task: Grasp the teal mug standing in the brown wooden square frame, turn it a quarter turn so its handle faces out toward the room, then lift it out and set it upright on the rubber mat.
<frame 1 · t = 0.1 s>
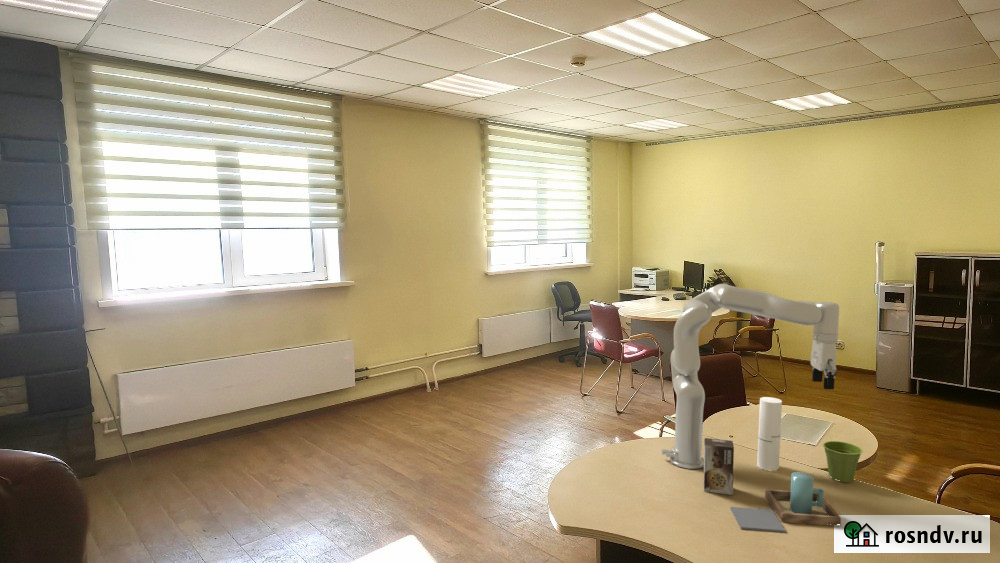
hand: (822, 385, 198), 31 cm above the table, tool pointing down, fingers open, 9 cm apart
rubber mat: (756, 520, 166), on the table
teal mug: (806, 493, 171), in the brown wooden square frame
cylindrical container: (767, 467, 203), on the table
plant pot: (840, 479, 194), on the table
brown wooden square frame: (800, 510, 172), on the table
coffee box: (717, 489, 186), on the table
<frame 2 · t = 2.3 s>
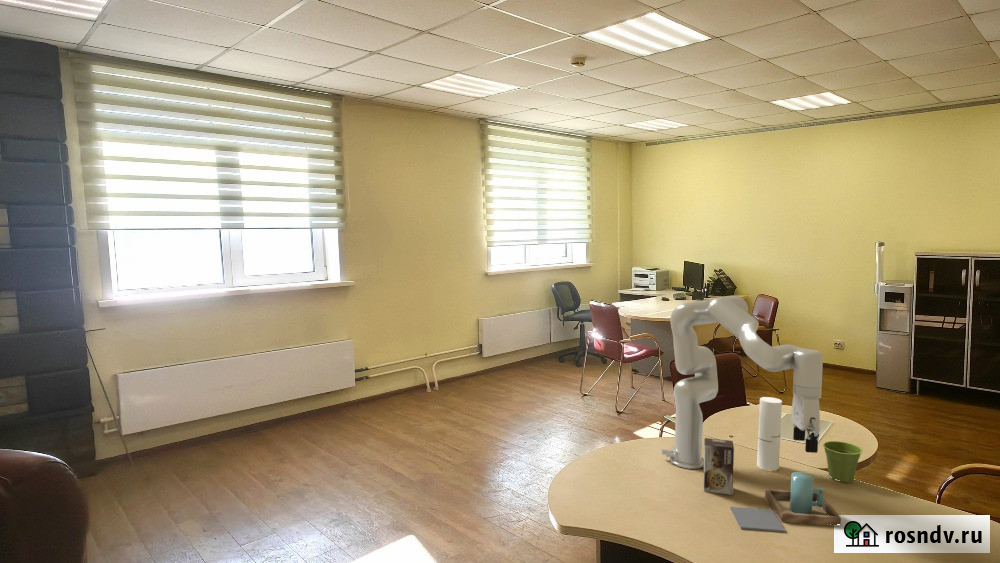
hand: (805, 446, 170), 21 cm above the table, tool pointing down, fingers open, 9 cm apart
nothing on the table moved.
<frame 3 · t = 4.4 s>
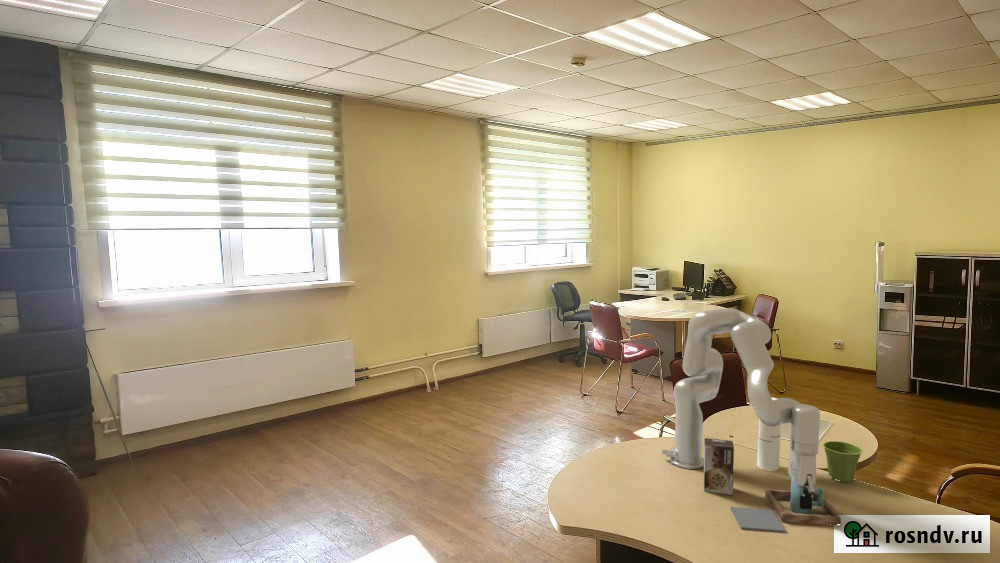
hand: (801, 502, 172), 3 cm above the table, tool pointing down, fingers closed on teal mug, 6 cm apart
teal mug: (807, 493, 171), in the brown wooden square frame, touching gripper
everything else where it was.
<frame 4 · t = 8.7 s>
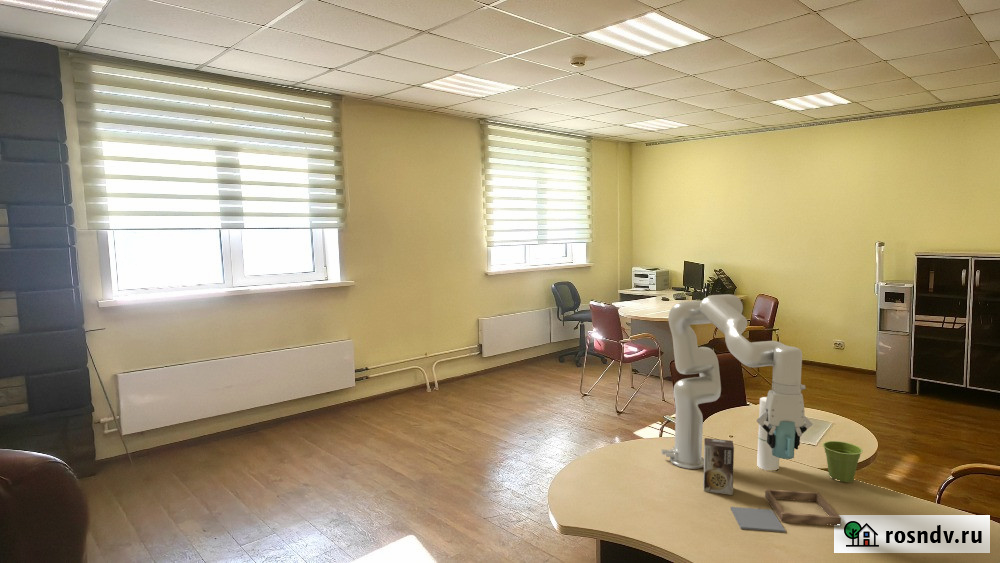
hand: (783, 446, 167), 21 cm above the table, tool pointing down, fingers closed on teal mug, 6 cm apart
teal mug: (785, 439, 166), point 24 cm above the table, touching gripper
everything else where it was.
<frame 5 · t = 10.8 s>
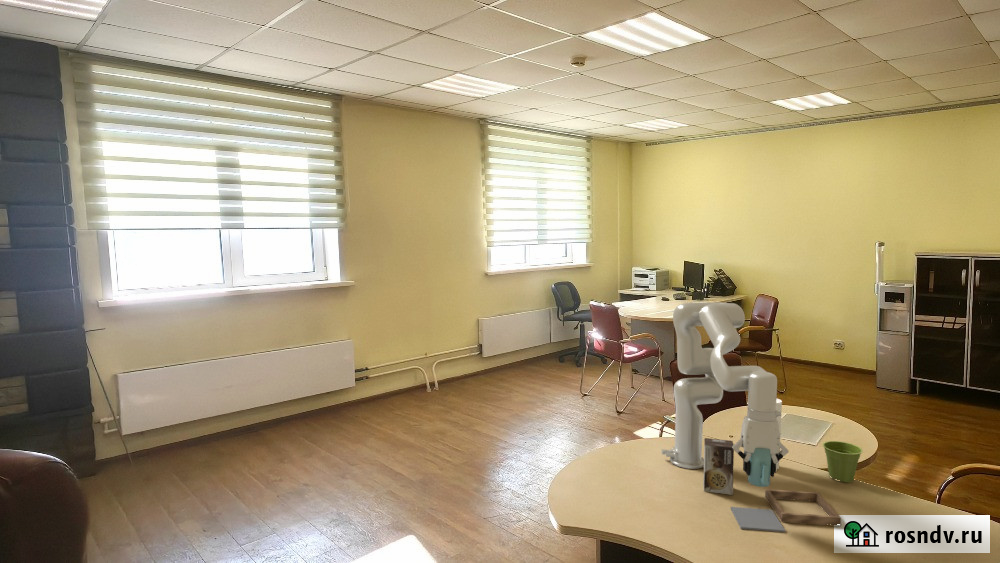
hand: (759, 473, 165), 14 cm above the table, tool pointing down, fingers closed on teal mug, 6 cm apart
teal mug: (761, 466, 163), point 17 cm above the table, touching gripper
everything else where it was.
when the fingers open (5 cm above the table, at t = 13.0 s): teal mug drops 1 cm, resting on rubber mat.
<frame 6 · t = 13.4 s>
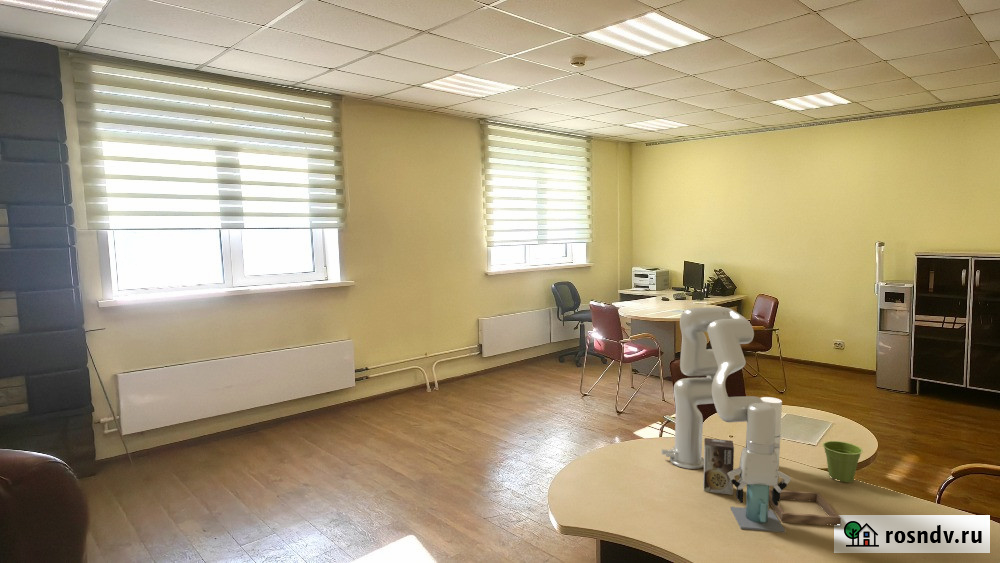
hand: (757, 502, 166), 5 cm above the table, tool pointing down, fingers open, 9 cm apart
teal mug: (758, 502, 164), on the rubber mat, point 6 cm above the table
everything else where it was.
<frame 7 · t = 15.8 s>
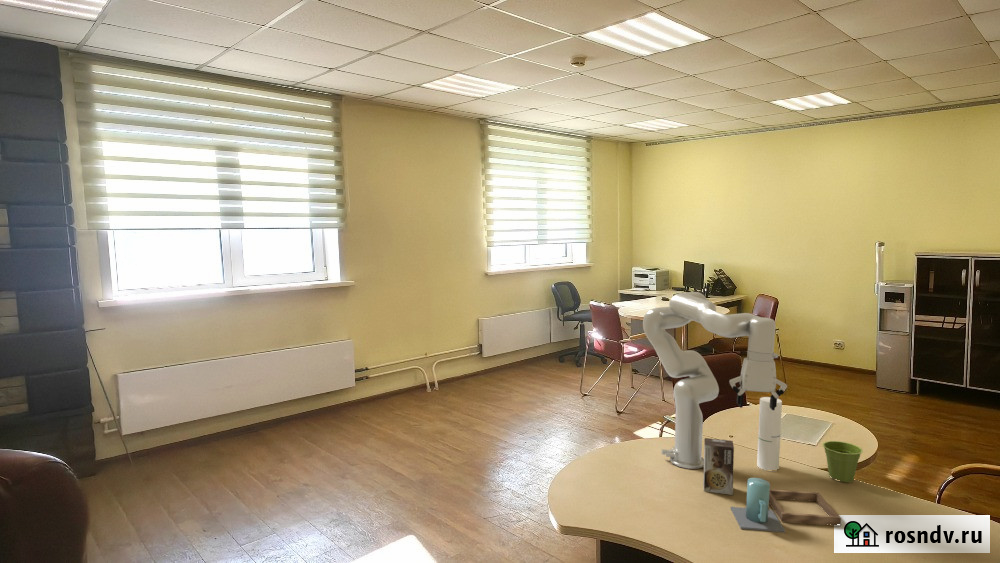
hand: (756, 407, 182), 28 cm above the table, tool pointing down, fingers open, 9 cm apart
nothing on the table moved.
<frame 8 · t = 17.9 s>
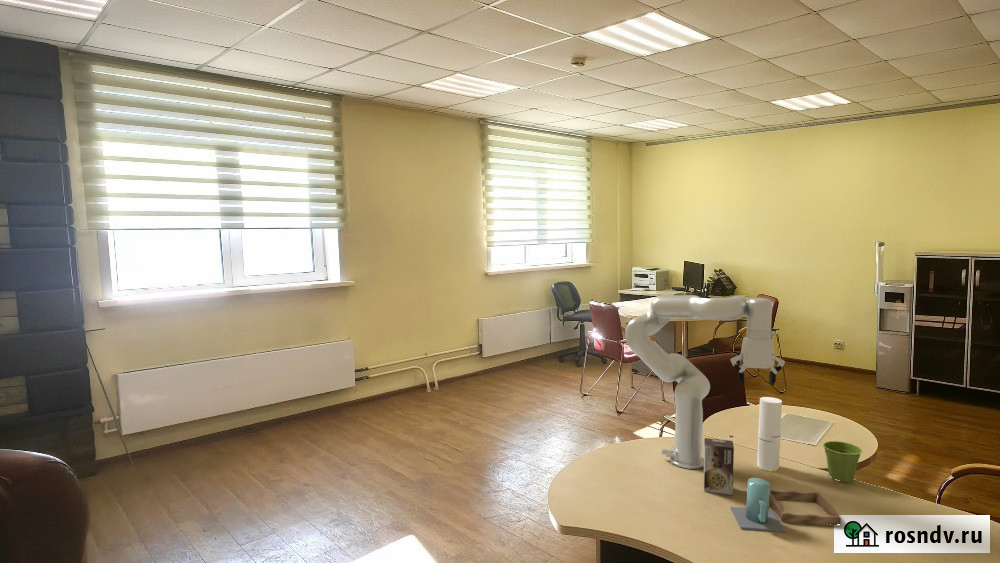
hand: (756, 383, 192), 33 cm above the table, tool pointing down, fingers open, 9 cm apart
nothing on the table moved.
at the end: teal mug inside the target area on the rubber mat (0.1 cm from its centre), point 6.1 cm above the rubber mat's base; teal mug tilted 1°; the gripper is holding nothing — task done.
